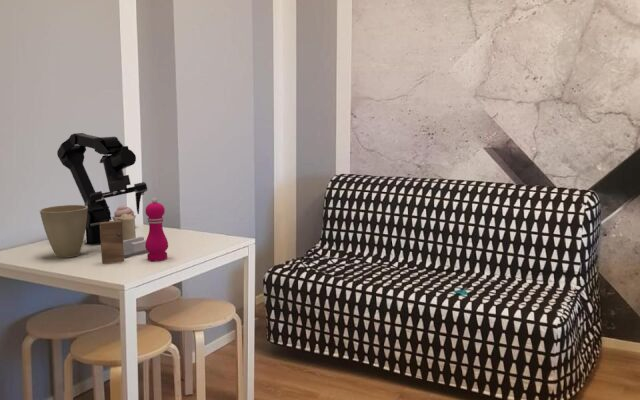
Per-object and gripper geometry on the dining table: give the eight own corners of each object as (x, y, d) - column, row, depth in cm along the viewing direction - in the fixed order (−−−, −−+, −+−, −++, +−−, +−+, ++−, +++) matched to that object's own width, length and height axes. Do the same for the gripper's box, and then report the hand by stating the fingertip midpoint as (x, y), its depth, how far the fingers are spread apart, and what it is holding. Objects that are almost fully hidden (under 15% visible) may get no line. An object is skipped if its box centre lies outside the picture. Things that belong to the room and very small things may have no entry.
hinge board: (108, 255, 228) (107, 243, 227) (151, 245, 242) (151, 234, 241) (123, 258, 223) (122, 246, 222) (166, 248, 237) (166, 237, 236)
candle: (139, 240, 251) (137, 213, 249) (129, 243, 246) (127, 215, 244) (127, 239, 253) (125, 212, 251) (117, 242, 248) (115, 214, 246)
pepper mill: (157, 262, 217) (154, 200, 214) (141, 259, 221) (137, 198, 218) (173, 257, 223) (170, 197, 220) (157, 255, 227) (154, 195, 224)
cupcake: (141, 227, 275) (140, 202, 273) (124, 231, 267) (123, 206, 265) (125, 225, 280) (123, 201, 278) (107, 229, 272) (106, 204, 270)
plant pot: (93, 249, 237) (90, 203, 235) (87, 259, 223) (83, 211, 220) (48, 251, 235) (45, 205, 232) (38, 261, 220) (34, 213, 218)
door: (101, 262, 219) (99, 222, 216) (122, 259, 221) (120, 220, 219) (103, 264, 215) (101, 224, 213) (124, 262, 218) (122, 222, 216)
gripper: (84, 175, 224) (95, 221, 223) (142, 163, 229) (152, 208, 228) (86, 179, 234) (97, 223, 234) (141, 168, 239) (152, 211, 239)
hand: (124, 217), depth 233 cm, fingers open, 9 cm apart
